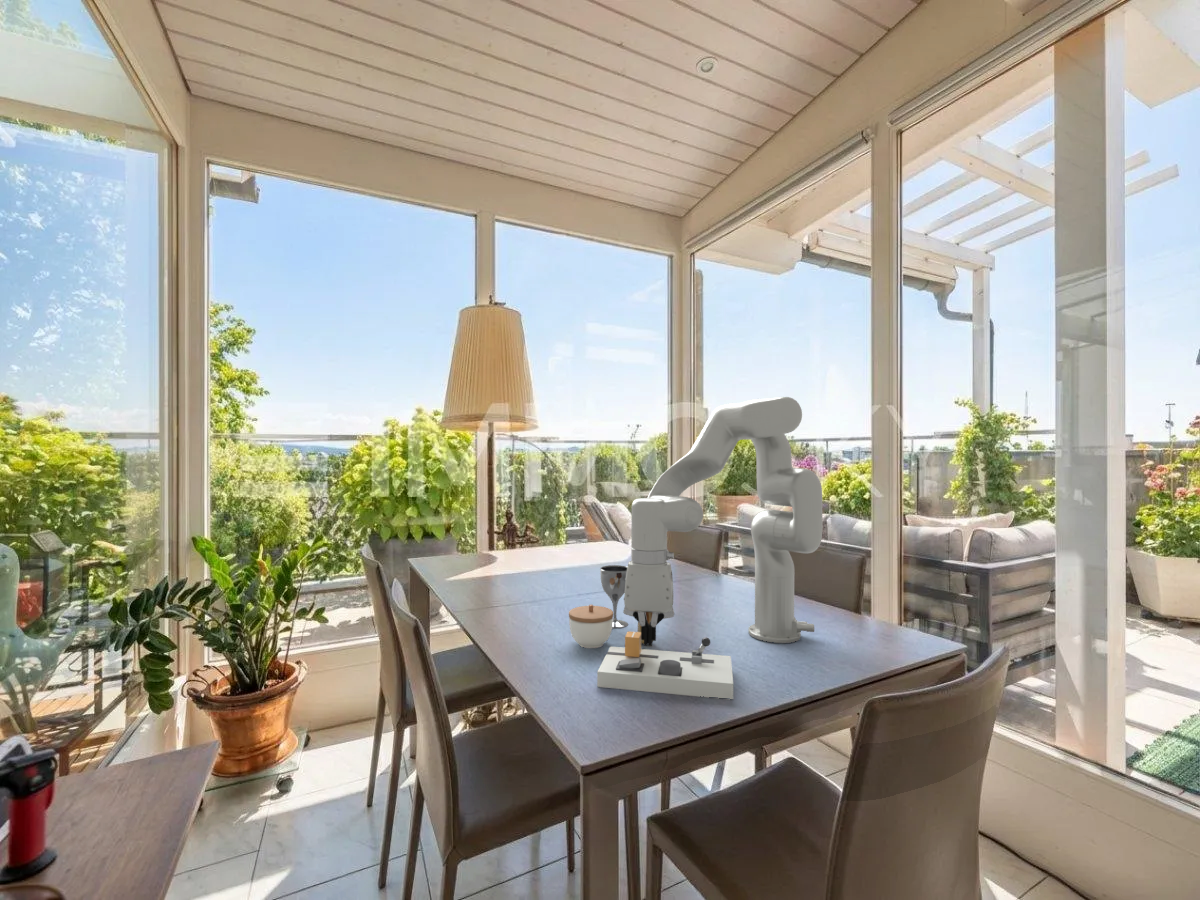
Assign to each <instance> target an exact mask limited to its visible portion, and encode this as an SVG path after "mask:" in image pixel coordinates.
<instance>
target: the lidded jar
mask: <svg viewBox="0 0 1200 900" xmlns="http://www.w3.org/2000/svg"><path fill="white" fill-rule="evenodd" d="M613 617H614V612H613V610H612V609H610V608H609V607H605V606H601V605H600V606H599V605H593V604H589V605H583V606H577V607H573V608H572V609H570V610H569V611H568V619H569V620H568V621H569V631H570V634H571V637H572V638H573V640H574V641H575V642H576V643H577V644H579V645H580V646H581V648H583V647H584V649H597V648H601V647H603V646H604V644H605V643H606V642H607V641H608V639H609V638H610V636H611V634H612V631H613V628H612V625H613ZM579 645H578V646H579ZM580 646H579V647H580Z"/></svg>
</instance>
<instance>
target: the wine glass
mask: <svg viewBox="0 0 1200 900" xmlns="http://www.w3.org/2000/svg"><path fill="white" fill-rule="evenodd" d="M627 567H628V565H627V566H626V565H619V564H618V565H616V564H611V565H603V566H601V567H600V569H599V570H600V573H599V574H600V581H601V582H600V583H601V588H602V590H603V592H604V593H605V594H606V595H607V596H608V598H609V599H610V601H611V603H612V609H613V610H612V611H613V625H612V629H624V628H626V627H628V626H629V623H628V622H627V621H625V620H622V619H618V618H617V610H618V604H619V602H620V599H621V598H622V597H623V595H625V581H626V573H627Z"/></svg>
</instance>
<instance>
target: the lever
mask: <svg viewBox="0 0 1200 900" xmlns="http://www.w3.org/2000/svg"><path fill="white" fill-rule="evenodd" d="M710 645H711V640H710V638H709V637H707V636H705V637H703V638H702V639H701V644H700V646H699V648H698V649H697V652H696V654H695V656H701V654H703V653H704V651H705V650H706V648H707V647H709V646H710Z"/></svg>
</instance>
